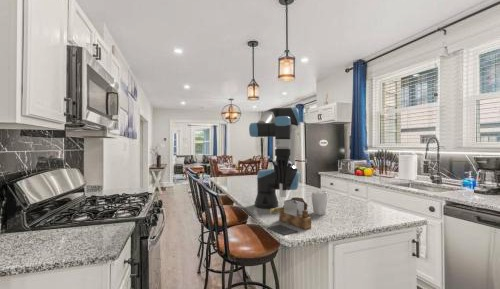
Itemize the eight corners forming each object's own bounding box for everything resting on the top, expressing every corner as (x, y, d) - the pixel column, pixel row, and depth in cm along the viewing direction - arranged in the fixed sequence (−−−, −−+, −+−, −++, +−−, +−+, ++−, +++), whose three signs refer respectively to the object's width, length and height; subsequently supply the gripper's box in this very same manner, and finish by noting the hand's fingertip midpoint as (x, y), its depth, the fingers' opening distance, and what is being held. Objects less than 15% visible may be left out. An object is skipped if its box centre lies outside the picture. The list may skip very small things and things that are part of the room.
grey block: (283, 212, 132) (283, 199, 132) (291, 211, 135) (291, 198, 135) (296, 216, 125) (296, 202, 125) (304, 214, 128) (304, 201, 128)
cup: (326, 211, 154) (326, 191, 154) (329, 215, 145) (329, 193, 145) (310, 211, 155) (310, 190, 155) (312, 215, 146) (312, 193, 146)
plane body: (279, 220, 136) (279, 205, 136) (284, 219, 138) (284, 203, 138) (305, 229, 121) (305, 212, 121) (311, 228, 124) (311, 211, 124)
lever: (269, 212, 131) (269, 208, 131) (281, 210, 136) (281, 206, 136) (271, 213, 129) (271, 209, 129) (284, 211, 134) (284, 207, 134)
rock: (284, 212, 151) (284, 195, 151) (303, 212, 152) (303, 195, 152) (290, 219, 138) (290, 200, 138) (310, 219, 138) (310, 200, 138)
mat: (267, 228, 124) (267, 227, 124) (279, 225, 128) (279, 224, 128) (284, 235, 114) (284, 234, 114) (297, 231, 118) (297, 230, 118)
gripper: (268, 148, 131) (268, 195, 131) (286, 148, 120) (286, 199, 120) (279, 148, 135) (279, 193, 135) (297, 148, 125) (297, 198, 124)
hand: (282, 196), depth 128 cm, fingers closed
